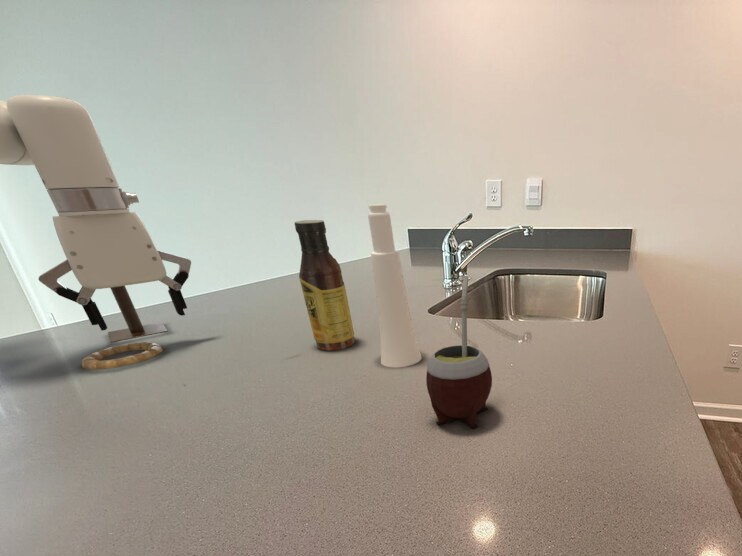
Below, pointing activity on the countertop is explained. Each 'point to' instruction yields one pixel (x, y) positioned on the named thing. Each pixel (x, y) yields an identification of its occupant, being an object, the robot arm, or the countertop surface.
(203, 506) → the countertop surface
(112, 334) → the peg stand
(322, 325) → the sauce bottle
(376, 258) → the cosmetic bottle
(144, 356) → the ring
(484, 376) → the mate gourd
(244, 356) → the countertop surface
